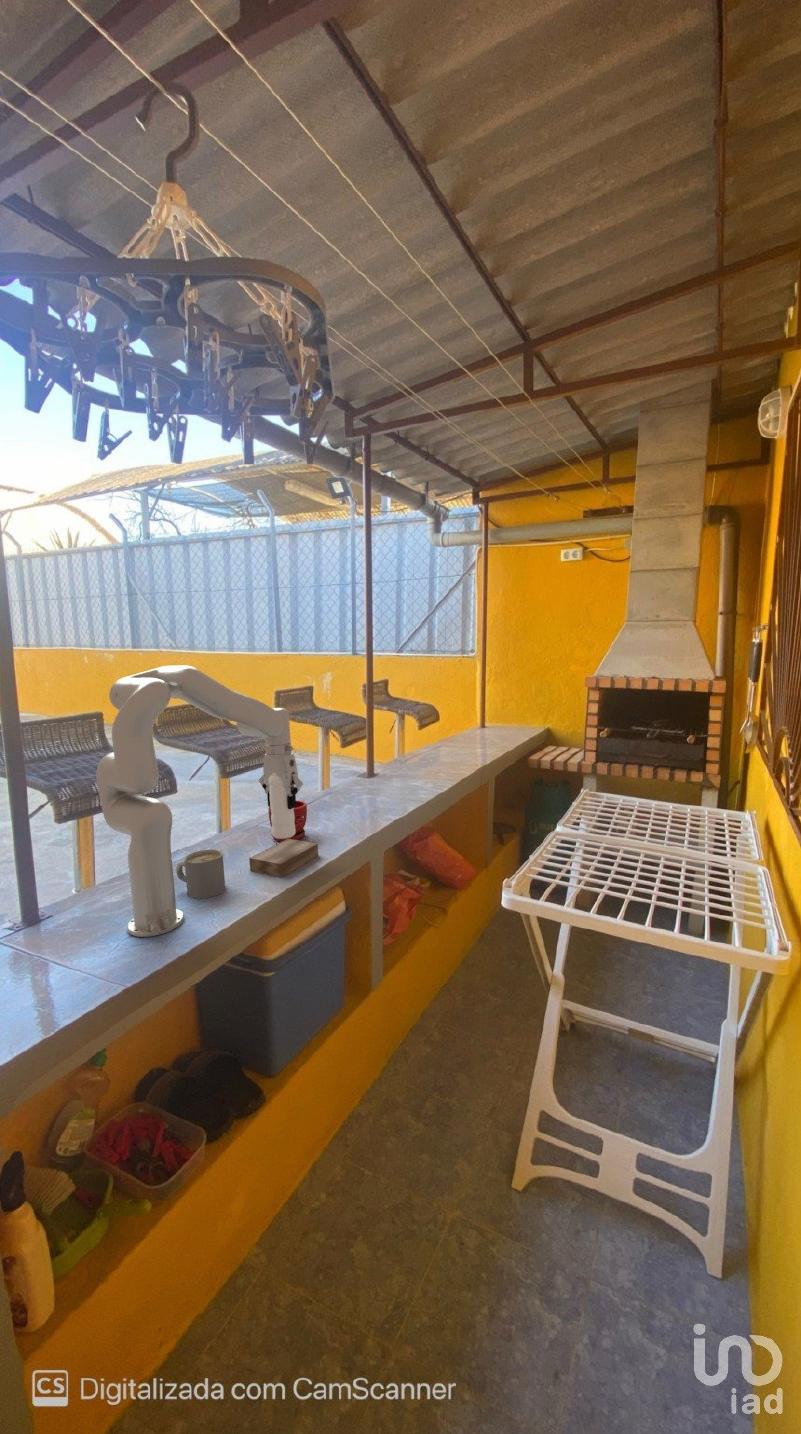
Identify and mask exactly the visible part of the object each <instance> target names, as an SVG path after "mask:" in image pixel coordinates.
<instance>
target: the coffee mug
mask: <svg viewBox="0 0 801 1434" xmlns="http://www.w3.org/2000/svg"><path fill="white" fill-rule="evenodd" d="M183 867H184V869H185V870H184V871H185V874H184V872H183ZM224 867H225V866H224V855H223V852H222V851H221V850H219V849H200V850H197V851H193V852H192V853H189V854H187V855H186V856H185V857H184V860H181V861H179V862H178V863H177V865H176V875H177V878H178V879H179V880H180V881H181V882H184V883H186V893H187V896H188V897H189V898H192V899H207V898H213V897H215V896H218V895H220V894H222V893H223V892H225V890H226V881H225V868H224Z"/></svg>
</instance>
